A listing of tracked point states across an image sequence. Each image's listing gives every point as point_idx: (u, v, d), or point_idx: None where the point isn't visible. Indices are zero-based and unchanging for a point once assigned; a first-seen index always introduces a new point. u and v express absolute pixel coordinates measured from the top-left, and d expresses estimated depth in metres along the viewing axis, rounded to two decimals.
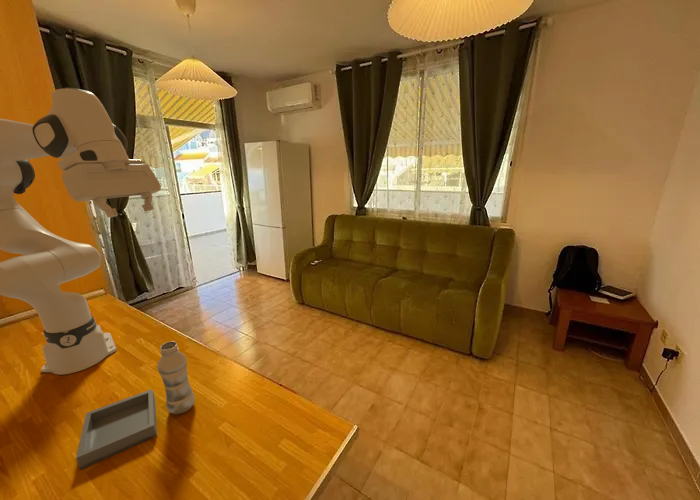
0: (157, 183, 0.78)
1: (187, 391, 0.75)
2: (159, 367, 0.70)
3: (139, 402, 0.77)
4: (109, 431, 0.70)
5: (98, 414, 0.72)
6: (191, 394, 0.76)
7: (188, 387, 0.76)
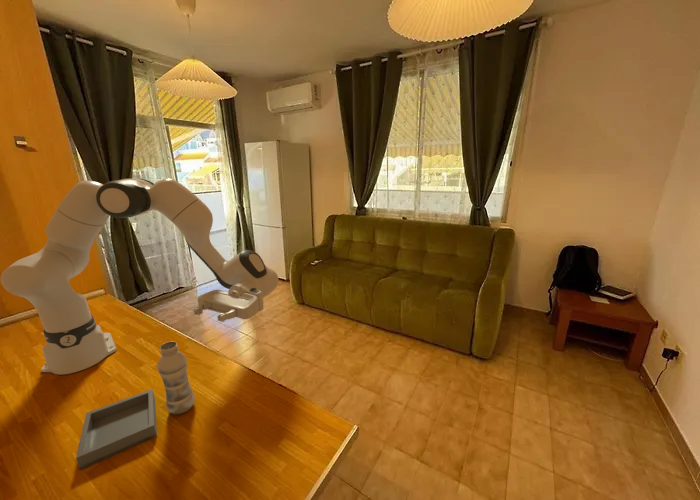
0: None
1: (187, 391, 0.75)
2: (159, 367, 0.70)
3: (139, 402, 0.77)
4: (109, 431, 0.70)
5: (98, 414, 0.72)
6: (191, 394, 0.76)
7: (188, 387, 0.76)
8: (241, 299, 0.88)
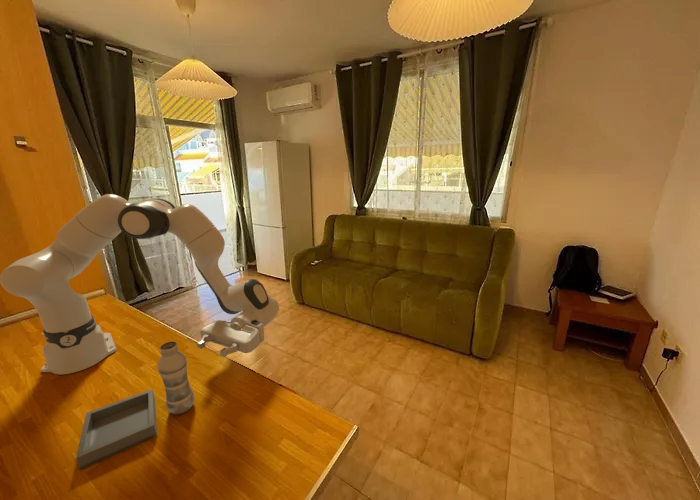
0: None
1: (187, 391, 0.75)
2: (159, 367, 0.70)
3: (139, 402, 0.77)
4: (109, 431, 0.70)
5: (98, 414, 0.72)
6: (191, 394, 0.76)
7: (188, 387, 0.76)
8: (242, 332, 0.91)
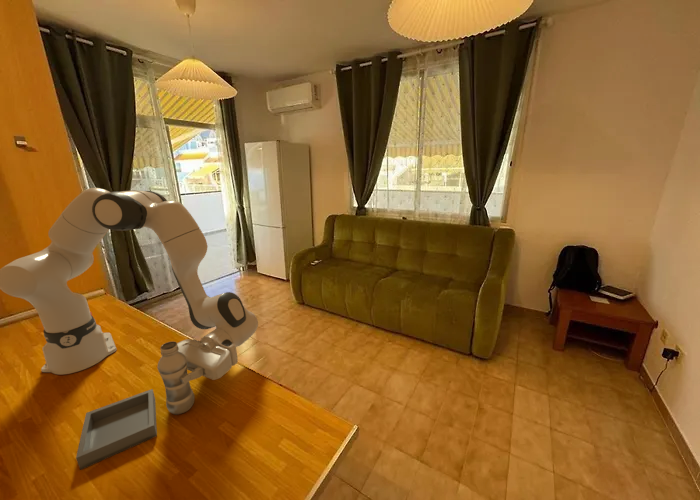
0: None
1: (187, 391, 0.75)
2: (159, 367, 0.70)
3: (139, 402, 0.77)
4: (109, 431, 0.70)
5: (98, 414, 0.72)
6: (191, 394, 0.76)
7: (188, 387, 0.76)
8: (212, 354, 0.80)
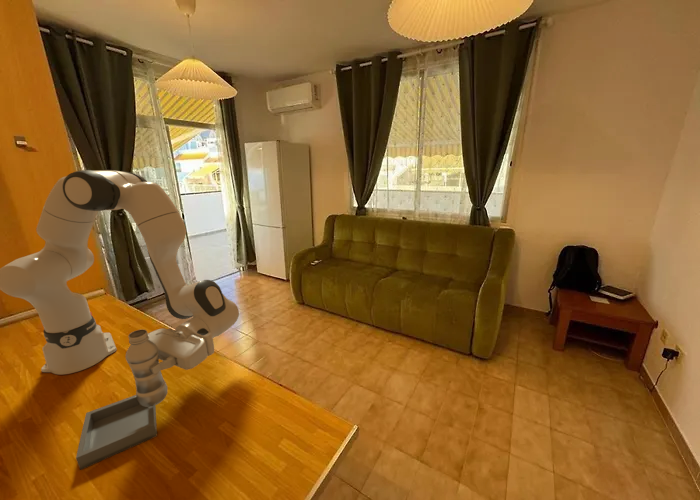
0: None
1: (159, 382, 0.71)
2: (127, 356, 0.66)
3: None
4: (109, 431, 0.70)
5: (98, 414, 0.72)
6: (163, 386, 0.72)
7: (160, 378, 0.71)
8: (186, 343, 0.76)
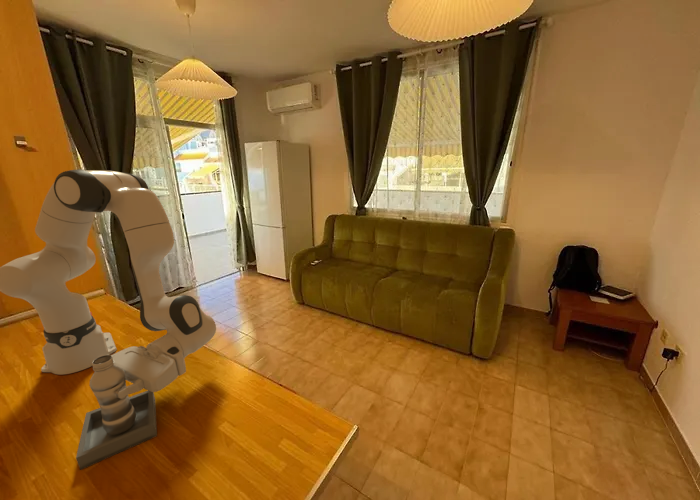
0: None
1: (126, 409, 0.69)
2: (91, 384, 0.64)
3: (139, 402, 0.77)
4: None
5: (98, 414, 0.72)
6: (131, 412, 0.70)
7: (127, 404, 0.69)
8: (155, 363, 0.73)
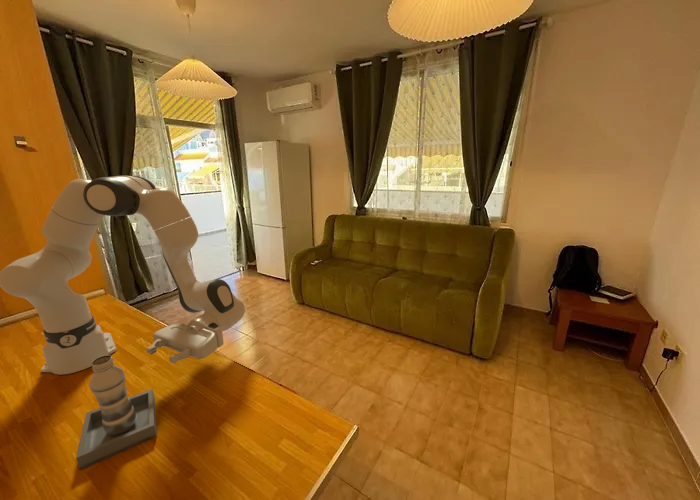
0: None
1: (126, 409, 0.69)
2: (90, 384, 0.64)
3: (139, 402, 0.77)
4: None
5: (98, 414, 0.72)
6: (131, 412, 0.70)
7: (127, 404, 0.69)
8: (198, 336, 0.84)
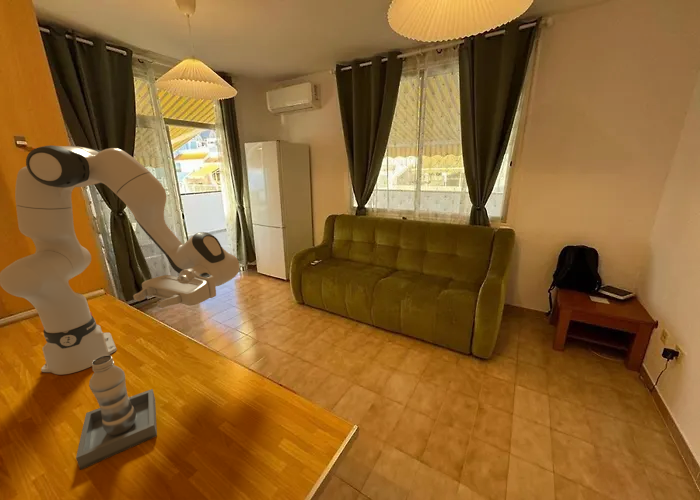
0: None
1: (126, 409, 0.69)
2: (90, 384, 0.64)
3: (139, 402, 0.77)
4: None
5: (98, 414, 0.72)
6: (131, 412, 0.70)
7: (127, 404, 0.69)
8: (189, 284, 0.79)
